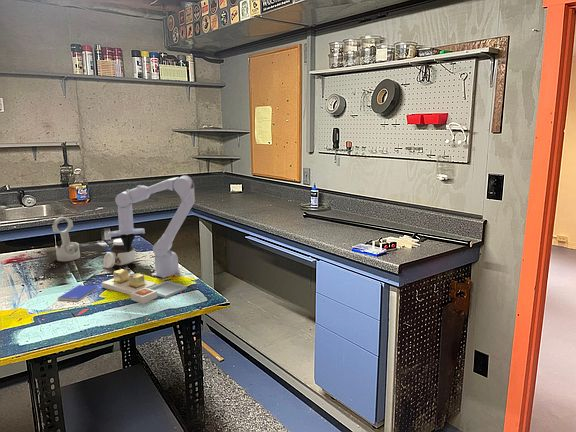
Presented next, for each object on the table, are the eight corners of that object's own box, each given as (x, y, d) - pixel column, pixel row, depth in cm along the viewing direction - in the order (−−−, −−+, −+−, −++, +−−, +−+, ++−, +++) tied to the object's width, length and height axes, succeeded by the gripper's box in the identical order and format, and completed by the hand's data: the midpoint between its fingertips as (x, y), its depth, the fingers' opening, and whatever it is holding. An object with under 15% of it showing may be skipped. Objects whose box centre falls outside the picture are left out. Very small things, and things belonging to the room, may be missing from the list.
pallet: (125, 278, 181) (124, 274, 181) (156, 287, 172) (156, 283, 171) (102, 287, 172) (101, 282, 172) (134, 297, 163) (133, 292, 162)
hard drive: (78, 298, 159) (97, 286, 171) (57, 297, 160) (78, 284, 172) (78, 302, 159) (97, 289, 171) (58, 301, 160) (78, 288, 172)
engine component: (84, 257, 209) (73, 253, 215) (79, 216, 204) (68, 213, 210) (61, 263, 200) (51, 259, 206) (56, 220, 196) (45, 217, 202)
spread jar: (137, 262, 202) (135, 238, 199) (124, 270, 191) (122, 245, 188) (114, 260, 204) (112, 237, 201) (99, 269, 193) (97, 244, 190)
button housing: (145, 294, 165) (144, 287, 164) (157, 298, 162) (156, 291, 161) (131, 300, 159) (130, 293, 159) (143, 304, 156) (142, 297, 155)
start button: (144, 295, 163) (144, 288, 162) (152, 298, 161) (151, 291, 160) (136, 299, 160) (135, 292, 159) (143, 301, 158) (143, 294, 157)
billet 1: (122, 282, 177) (121, 269, 176) (129, 284, 175) (128, 270, 174) (114, 286, 174) (113, 271, 172) (121, 288, 172) (119, 273, 170)
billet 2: (138, 287, 172) (137, 273, 171) (145, 289, 170) (144, 275, 169) (129, 290, 169) (128, 276, 168) (136, 292, 167) (135, 278, 166)
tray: (167, 284, 176) (166, 280, 175) (187, 289, 170) (186, 286, 170) (145, 293, 166) (145, 289, 166) (165, 299, 161) (165, 295, 161)
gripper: (109, 224, 174) (111, 256, 177) (146, 220, 181) (147, 251, 184) (106, 220, 179) (108, 252, 182) (141, 217, 187) (143, 247, 190)
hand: (127, 251), depth 184 cm, fingers closed
